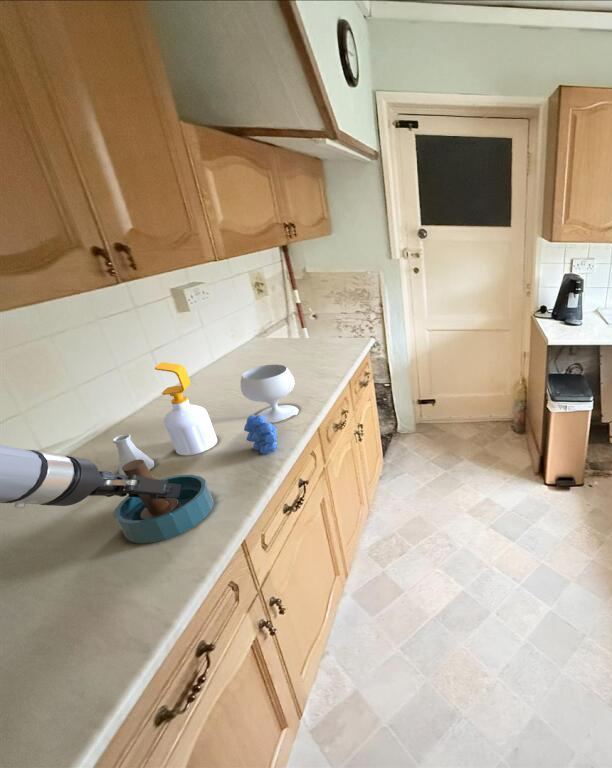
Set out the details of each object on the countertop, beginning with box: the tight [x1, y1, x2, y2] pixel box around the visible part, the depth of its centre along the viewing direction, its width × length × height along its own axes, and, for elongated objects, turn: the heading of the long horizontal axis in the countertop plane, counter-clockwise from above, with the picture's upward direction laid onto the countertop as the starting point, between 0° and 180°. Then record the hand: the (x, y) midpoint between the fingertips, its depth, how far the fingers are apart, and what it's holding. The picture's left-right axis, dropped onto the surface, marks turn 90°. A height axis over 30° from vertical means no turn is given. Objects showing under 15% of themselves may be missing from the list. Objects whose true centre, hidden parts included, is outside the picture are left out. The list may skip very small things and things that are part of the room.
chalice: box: [240, 364, 300, 423], centre depth 120 cm, size 14×14×15 cm
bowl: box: [113, 474, 215, 544], centre depth 83 cm, size 15×15×6 cm
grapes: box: [243, 414, 278, 455], centre depth 104 cm, size 12×7×12 cm, turn 63°
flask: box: [112, 433, 155, 475], centre depth 96 cm, size 7×7×10 cm
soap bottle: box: [154, 361, 218, 456], centre depth 102 cm, size 9×9×25 cm
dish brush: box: [122, 459, 182, 520], centre depth 78 cm, size 6×6×15 cm
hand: (168, 491), depth 83 cm, fingers closed on dish brush, 3 cm apart
